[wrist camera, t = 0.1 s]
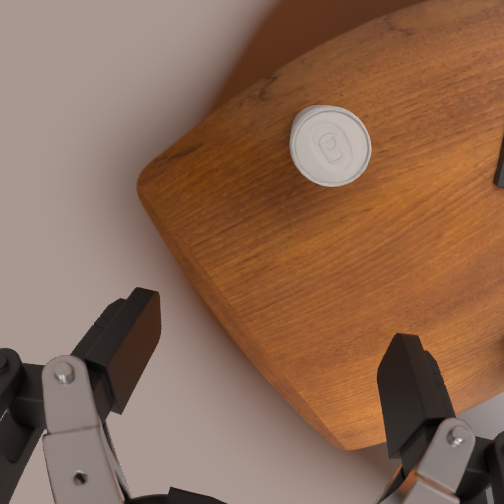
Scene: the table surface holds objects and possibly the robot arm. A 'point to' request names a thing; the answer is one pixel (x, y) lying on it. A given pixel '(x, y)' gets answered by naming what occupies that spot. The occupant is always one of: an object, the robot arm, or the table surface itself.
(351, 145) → the beverage can
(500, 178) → the black and cream coaster
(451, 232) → the table surface
